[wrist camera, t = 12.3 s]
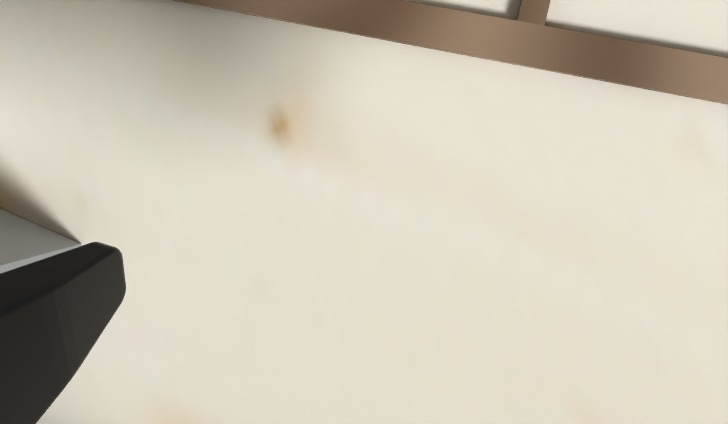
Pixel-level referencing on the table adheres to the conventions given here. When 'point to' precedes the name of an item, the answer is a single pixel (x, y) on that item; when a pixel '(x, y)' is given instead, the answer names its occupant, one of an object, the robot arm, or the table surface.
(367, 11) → the brown divided frame
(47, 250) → the grey cube
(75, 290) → the robot arm
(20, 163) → the table surface
